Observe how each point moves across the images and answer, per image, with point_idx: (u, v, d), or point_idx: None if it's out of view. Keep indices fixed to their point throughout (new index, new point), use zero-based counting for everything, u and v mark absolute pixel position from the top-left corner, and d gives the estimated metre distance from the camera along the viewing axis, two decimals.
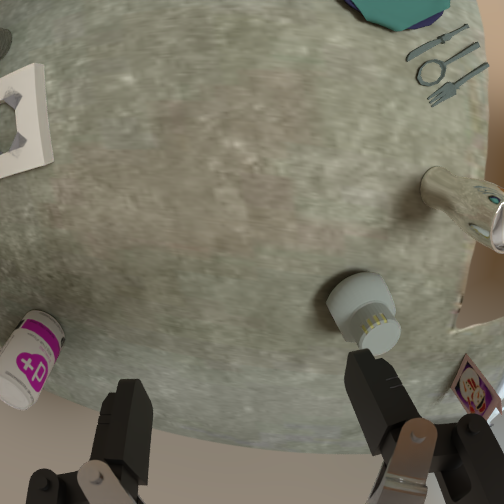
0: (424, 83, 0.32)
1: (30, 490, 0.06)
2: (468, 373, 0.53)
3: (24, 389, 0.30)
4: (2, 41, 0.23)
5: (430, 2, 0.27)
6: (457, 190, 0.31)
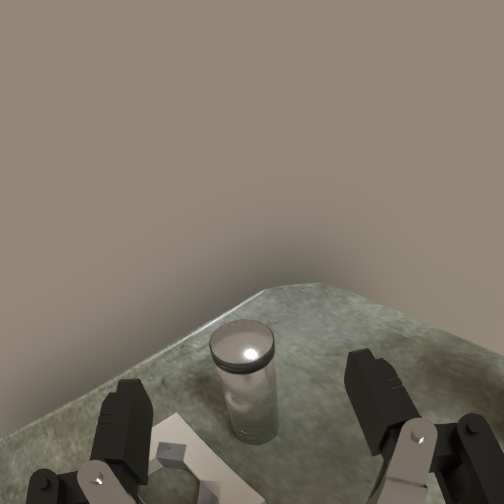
0: None
1: (31, 490, 0.06)
2: None
3: None
4: (265, 433, 0.29)
5: None
6: None
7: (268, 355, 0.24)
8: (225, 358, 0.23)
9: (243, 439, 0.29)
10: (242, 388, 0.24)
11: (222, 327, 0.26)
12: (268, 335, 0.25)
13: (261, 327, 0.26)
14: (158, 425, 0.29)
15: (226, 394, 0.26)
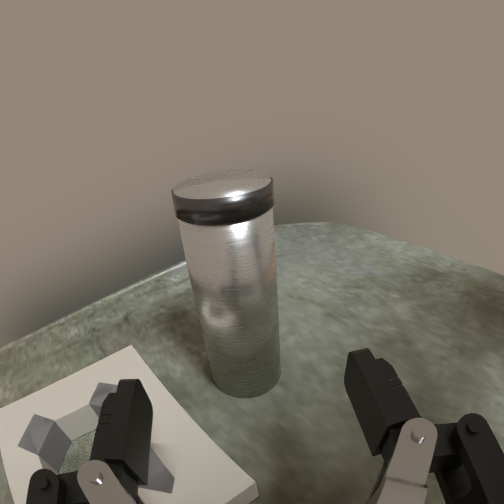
0: None
1: (31, 490, 0.06)
2: None
3: None
4: (259, 374, 0.20)
5: None
6: None
7: (263, 195, 0.15)
8: (191, 197, 0.14)
9: (225, 388, 0.20)
10: (220, 261, 0.15)
11: (195, 177, 0.18)
12: (263, 176, 0.16)
13: (253, 173, 0.17)
14: (103, 361, 0.21)
15: (195, 287, 0.17)
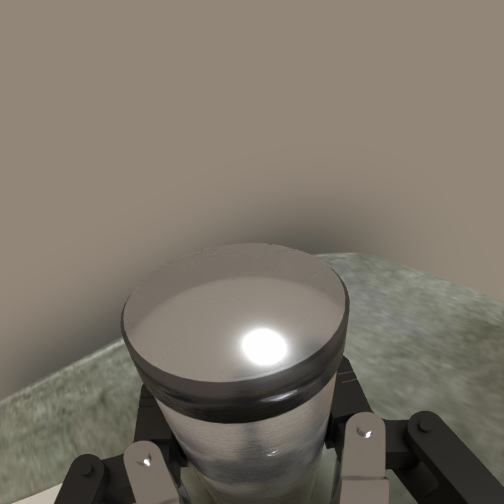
0: None
1: (70, 473, 0.07)
2: None
3: None
4: None
5: None
6: None
7: (336, 347, 0.06)
8: (161, 358, 0.06)
9: None
10: (233, 459, 0.06)
11: (176, 262, 0.09)
12: (325, 279, 0.07)
13: (297, 259, 0.08)
14: None
15: (189, 459, 0.08)
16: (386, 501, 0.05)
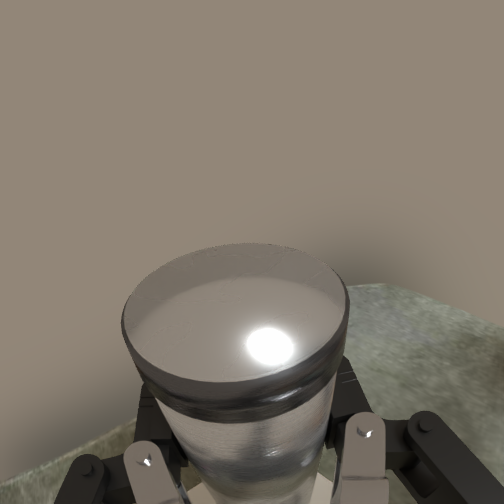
0: None
1: (70, 473, 0.07)
2: None
3: None
4: None
5: None
6: None
7: (336, 348, 0.06)
8: (162, 359, 0.06)
9: None
10: (234, 459, 0.06)
11: (176, 262, 0.09)
12: (325, 279, 0.07)
13: (298, 260, 0.08)
14: None
15: (189, 459, 0.08)
16: (386, 501, 0.05)
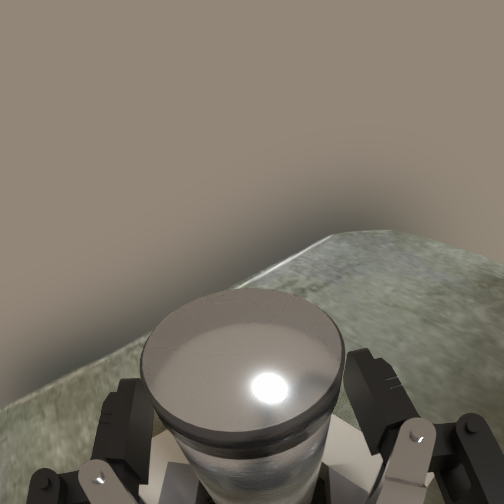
0: None
1: (31, 490, 0.06)
2: None
3: None
4: None
5: None
6: None
7: (331, 397, 0.06)
8: (180, 409, 0.06)
9: None
10: (241, 483, 0.07)
11: (186, 308, 0.09)
12: (324, 331, 0.08)
13: (299, 308, 0.09)
14: None
15: (200, 479, 0.09)
16: None
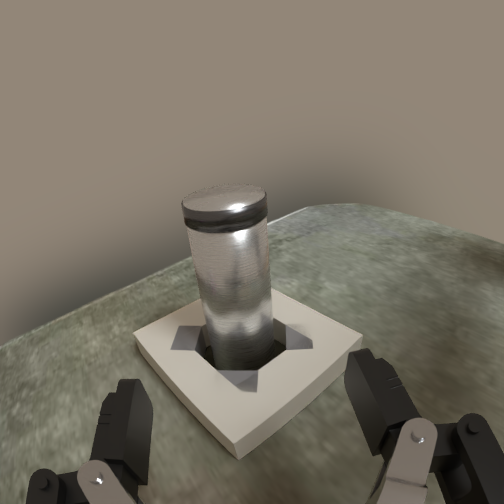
0: None
1: (30, 490, 0.06)
2: None
3: None
4: (256, 360, 0.23)
5: None
6: None
7: (258, 207, 0.18)
8: (199, 209, 0.18)
9: None
10: (222, 262, 0.19)
11: (201, 190, 0.21)
12: (258, 191, 0.19)
13: (250, 187, 0.20)
14: None
15: (201, 284, 0.20)
16: None
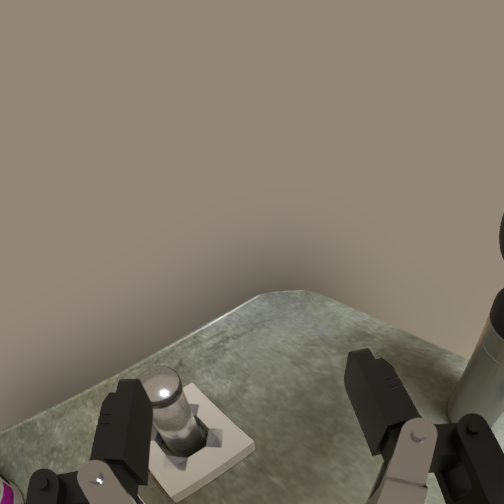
0: None
1: (31, 490, 0.06)
2: None
3: None
4: (188, 450, 0.34)
5: None
6: None
7: (172, 397, 0.30)
8: None
9: (173, 453, 0.35)
10: (158, 417, 0.30)
11: (145, 371, 0.32)
12: (175, 381, 0.31)
13: (172, 374, 0.32)
14: None
15: None
16: None
